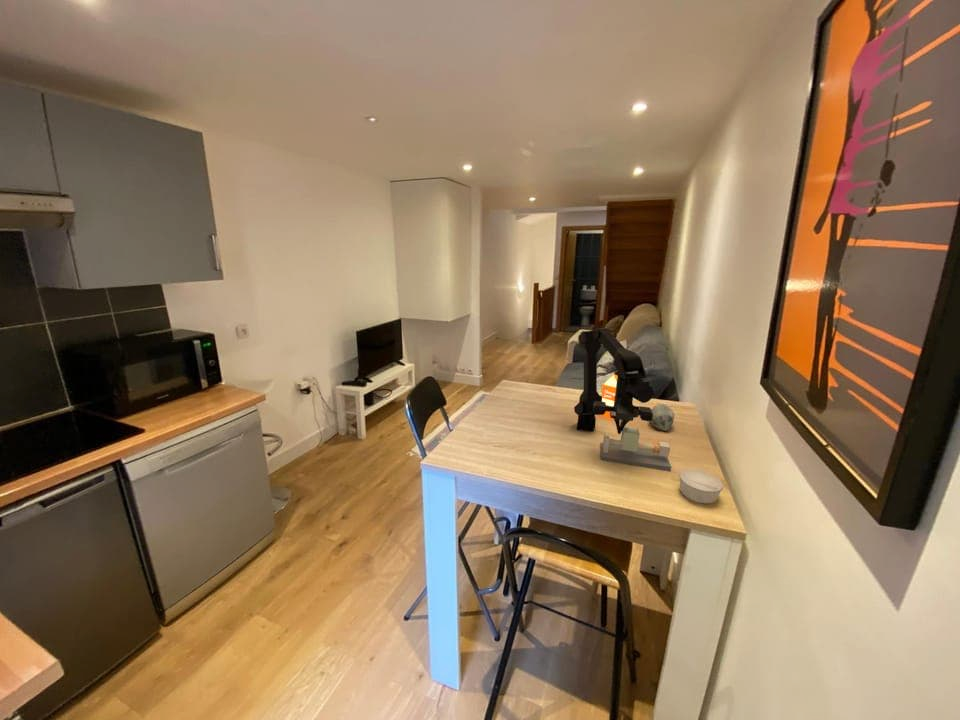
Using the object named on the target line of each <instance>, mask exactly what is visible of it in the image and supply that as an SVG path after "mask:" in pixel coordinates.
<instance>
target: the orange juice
mask: <svg viewBox="0 0 960 720" xmlns="http://www.w3.org/2000/svg"><path fill="white" fill-rule="evenodd" d="M616 384H617V375H615V374H614V373H613V374H612V375H611V376H610V377H609V378H608V379H607V380H606V381H605V382H604V383H603V384H602V389H601V396H602V402H606V406H614V399H615V392H616ZM598 416H599V417H602V418H603V419H604V418H605V419H607V420H612V421H614V422H615V420H614V419H613V418H611V417H610V412H608V411H606V412H605V414H604V415H598Z"/></svg>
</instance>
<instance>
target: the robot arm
mask: <svg viewBox="0 0 960 720" xmlns="http://www.w3.org/2000/svg"><path fill="white" fill-rule="evenodd" d="M577 339H578V340H577V341H578V346H579V349H580V350H581V352H582V354H583V391H582V393H581V394H580V395H579V401H578V403H577V404H576V405H575V406H573V407H574V409H573V411H574V413H575V414H576V415H577V422H576V430H579V431H582V432H583V431H584V432H585V431H586V432H591V433H592V432H594V429H596V424H597V423H596V421H597V417H596V416H599V415H604V414H605V412H606V411H608V412H610V417H611V418H613V419H614V420H615V421H614V420H613V421H614V423H615V426H616V431H617V434H618V435H622V430H623V428H624V427H626V425H627V424H628V423H629V422H630V421H631V422H632V421H634V419H636V418H639V419H640V420H642V421H644V422H645V421H646V422H651V421H652V420H653V413H652V408H651V407H649V406H637V405H634V403H633V400H634V399H635V400H636V401H638V402H640V403H641V404H646V403H648V402H650V401H651V400H652V399H653V396H654V389H653V387H652V386H651V385H650V381H648V380H646V378H647V374H646V370H645V368H644V364H643V360H642V358H641V356H640V355H639V354H637V353H636V352H634V351H632V350H630V349H627V348H625V346H624V345H622V344H621V342H620V341H619V340H618V339H617V337H616V336H615V335H613V333H612V332H611V330H610V329H609V328H607V327H599V328H597V327H596V328H594V329H592V330H584V331H583V330H582V331H581V332H580V333H579V335H578V337H577ZM602 347H604V349H605V350H606V351H607V352H608V354H609V355H610V356H611V357H612V358H613V361H612V364H613V365H614V367H615V369H616V371H614V372H613V374H615V375H617V384H616V392H615V399H614V406H606V402H602V395H600V394H599V393H598V383H597V382H598V379H597V378H598V370H597V369H598V366H597V365H598V360H597V359H598V358H597V357H598V353H599V351H600V350H601V348H602Z"/></svg>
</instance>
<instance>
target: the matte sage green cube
mask: <svg viewBox="0 0 960 720" xmlns="http://www.w3.org/2000/svg"><path fill="white" fill-rule="evenodd" d="M620 436H621V437H620V440H622V446H621V450H628V451H635V452H637V448H638V443H640V442H639V439H640V431H639V428H637V427H629V426H625V427H624V428H623V430H622V432H621V434H620Z"/></svg>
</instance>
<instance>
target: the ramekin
mask: <svg viewBox="0 0 960 720" xmlns="http://www.w3.org/2000/svg"><path fill="white" fill-rule="evenodd" d="M678 476H679V477H678V478H679V489H680V491H681V493H682V494H683V496H685V498H687V499H689V500H690V501H692V502H695V503H697V504H702V503H706V504H705V505H708V504H707V503H710V504H713V503H715V502H716V501H717V500H718V498H719V496H720V494H721V492H722V491H723V487H724V485H723V482H722V481H721V480H720V478H719V477H717V476H715V475H713V473H710V472H707V471H704V470H701V469H697V468H687V469H683V470H682V471H681V472H680V473H679V475H678Z"/></svg>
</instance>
